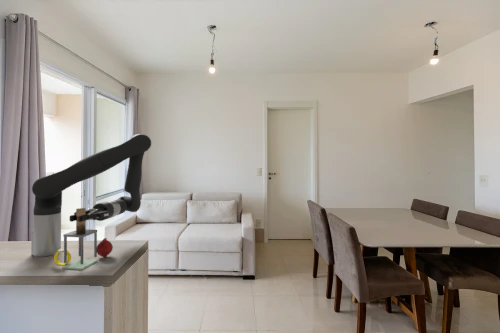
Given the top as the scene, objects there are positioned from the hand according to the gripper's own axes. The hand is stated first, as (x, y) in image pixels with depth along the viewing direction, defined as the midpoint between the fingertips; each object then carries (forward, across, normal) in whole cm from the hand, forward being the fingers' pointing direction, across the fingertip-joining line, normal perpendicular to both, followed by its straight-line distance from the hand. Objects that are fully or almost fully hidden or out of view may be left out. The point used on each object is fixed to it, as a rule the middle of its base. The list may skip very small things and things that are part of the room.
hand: (74, 218), depth 92 cm
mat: (-3, 0, +18) cm, 19 cm away
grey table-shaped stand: (-3, 0, +16) cm, 17 cm away
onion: (-11, +4, +19) cm, 22 cm away
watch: (-2, -7, +19) cm, 20 cm away
